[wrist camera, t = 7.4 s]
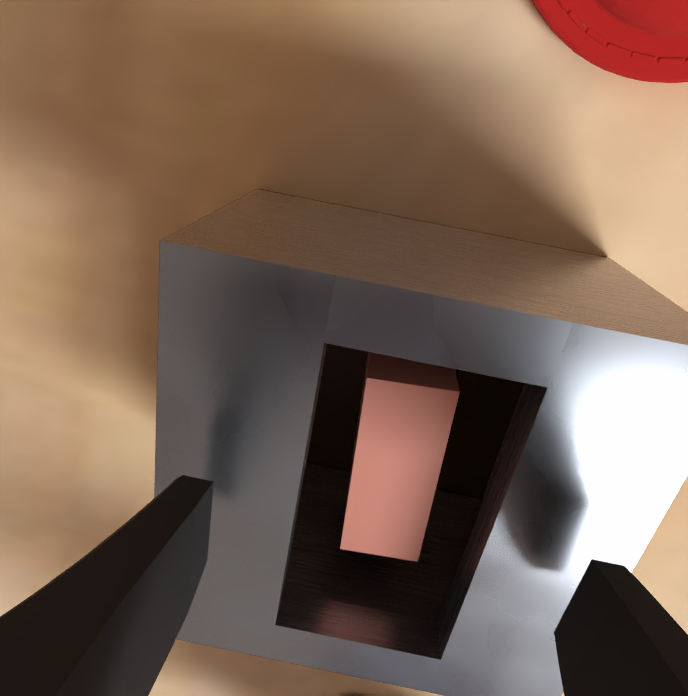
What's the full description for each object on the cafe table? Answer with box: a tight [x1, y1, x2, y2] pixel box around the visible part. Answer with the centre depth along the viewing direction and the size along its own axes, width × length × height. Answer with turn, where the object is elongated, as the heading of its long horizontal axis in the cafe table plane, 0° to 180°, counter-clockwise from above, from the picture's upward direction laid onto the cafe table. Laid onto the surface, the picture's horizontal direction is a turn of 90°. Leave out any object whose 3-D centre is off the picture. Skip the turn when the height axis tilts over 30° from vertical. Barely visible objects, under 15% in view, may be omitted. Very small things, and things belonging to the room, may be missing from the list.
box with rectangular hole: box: [154, 189, 688, 696], centre depth 14 cm, size 10×10×6 cm
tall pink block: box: [340, 352, 460, 562], centre depth 14 cm, size 5×2×5 cm, turn 173°
